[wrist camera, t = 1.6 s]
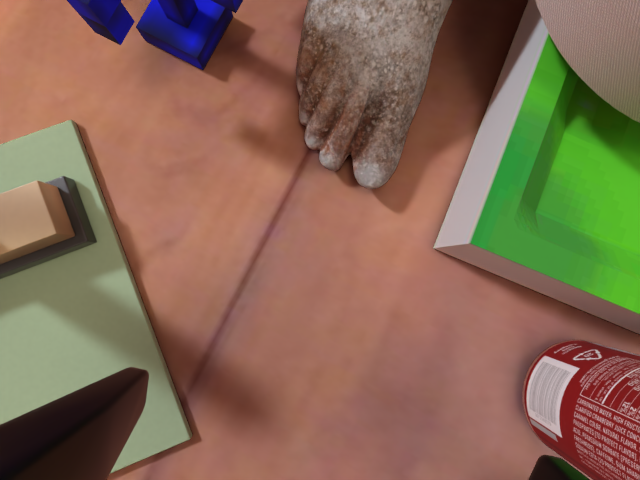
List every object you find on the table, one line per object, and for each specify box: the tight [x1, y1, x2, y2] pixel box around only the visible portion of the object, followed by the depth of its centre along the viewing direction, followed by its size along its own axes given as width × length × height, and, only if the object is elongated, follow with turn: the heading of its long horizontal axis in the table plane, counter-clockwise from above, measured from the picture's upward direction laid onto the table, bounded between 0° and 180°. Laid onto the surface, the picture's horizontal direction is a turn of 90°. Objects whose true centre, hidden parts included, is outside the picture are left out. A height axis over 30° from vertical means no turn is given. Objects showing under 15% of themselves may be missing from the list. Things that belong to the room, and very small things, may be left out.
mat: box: [0, 120, 192, 473], centre depth 21 cm, size 20×13×1 cm, turn 22°
